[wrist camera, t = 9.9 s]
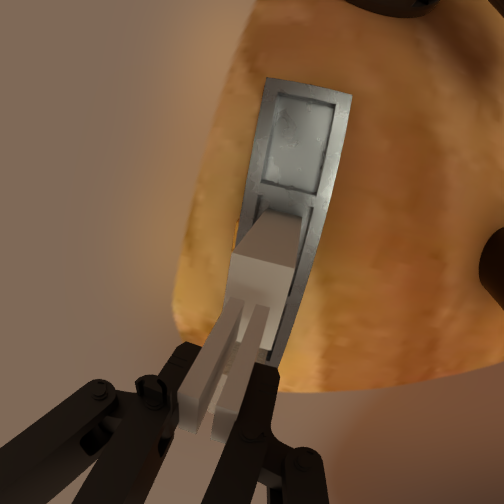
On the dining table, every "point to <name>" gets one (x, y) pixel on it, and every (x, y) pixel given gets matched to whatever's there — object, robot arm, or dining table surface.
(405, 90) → the dining table surface
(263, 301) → the block
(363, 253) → the dining table surface
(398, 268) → the dining table surface
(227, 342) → the robot arm
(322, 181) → the rack
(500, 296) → the water bottle
